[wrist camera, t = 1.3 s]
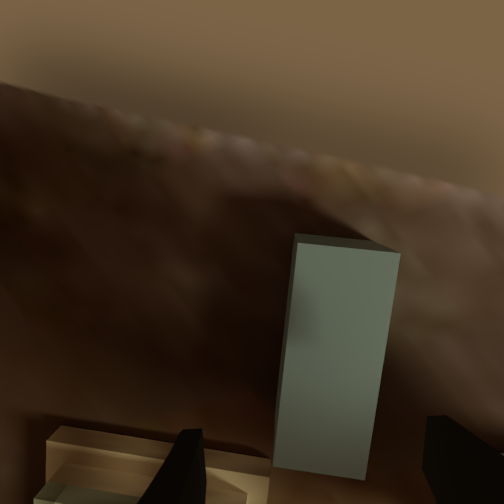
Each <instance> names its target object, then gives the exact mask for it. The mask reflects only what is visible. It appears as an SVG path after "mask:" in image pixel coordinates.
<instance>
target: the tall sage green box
mask: <svg viewBox="0 0 504 504" xmlns="http://www.w3.org/2000/svg"><path fill="white" fill-rule="evenodd" d="M400 254H401V253H399V252H397V251H395V250H392V249H390V248H388V247H386V246H383V245H381V244H379V243H376V242H374V241H370V240H360V239H350V238H340V237H329V236H319V235H309V234H299V233H294V242H293V251H292V260H291V270H290V279H289V288H288V297H287V306H286V315H285V324H284V333H283V342H282V351H281V361H280V370H279V379H278V388H277V397H276V406H275V426H274V450H273V467H279V468H285V469H292V470H299V471H305V472H312V473H319V474H325V475H332V476H339V477H345V478H352V479H359V480H365V477H366V470H367V464H368V457H369V451H370V445H371V438H372V432H373V426H374V419H375V413H376V407H377V400H378V394H379V388H380V381H381V375H382V369H383V362H384V356H385V350H386V343H387V337H388V330H389V324H390V318H391V311H392V305H393V299H394V292H395V286H396V280H397V273H398V267H399V261H400Z"/></svg>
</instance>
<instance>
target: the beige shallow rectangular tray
mask: <svg viewBox="0 0 504 504" xmlns="http://www.w3.org/2000/svg"><path fill="white" fill-rule="evenodd" d="M173 445H174V443H168V442H162V441H156V440H150V439H143V438H137V437H131V436H125V435H119V434H113V433H106V432H100V431H94V430H88V429H82V428H75V427H69V426H63V425H61V426H60V427H59V428H58V429H57V430H56V431H55V432H54V433H53V434H52V435H51V436H50V437H49V438H48V439H47V440H46V484H45V486H44V487H43V488H42V489H41V490H40V492H39V493H38V494H37V495H36V496H35V498H34V504H137V502H138V501H139V500H140V498H141V497H142V495H143V494H144V492H145V491H146V489H147V488H148V486H149V485H150V483H151V482H152V480H153V478H154V477H155V475H156V474H157V472H158V471H159V469H160V467H161V466H162V464H163V462H164V461H165V459H166V457H167V456H168V454H169V452H170V450H171V448H172V447H173ZM204 455H205V466H206V478H207V486H206V500H205V504H267V496H268V488H269V480H270V465H271V459H267V458H261V457H255V456H249V455H242V454H236V453H230V452H224V451H218V450H212V449H205V448H204Z"/></svg>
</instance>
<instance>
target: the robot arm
mask: <svg viewBox="0 0 504 504" xmlns="http://www.w3.org/2000/svg"><path fill="white" fill-rule="evenodd" d="M422 470H423V472H424V474H425V477H426V479H427V481H428V484H429V486H430V488H431V490H432V492H433V495H434V497H435V499H436V501H437V503H438V504H504V453H499V452H498V451H496V450H495V449H493V448H492V447H491V446H489V445H488V444H486V443H485V442H484V441H482V440H481V439H479V438H478V437H477V436H475V435H474V434H472V433H471V432H470V431H468V430H467V429H465V428H464V427H463V426H461V425H460V424H458V423H457V422H455V421H454V420H452V419H451V418H449V417H448V416H446V415H442V416H427V423H426V433H425V444H424V454H423V465H422ZM206 486H207V478H206V466H205V455H204V443H203V432H202V429H183V430H182V431H181V432H180V433H179V435H178V437H177V439H176V441H175V443H174V445H173V447H172V448H171V450H170V452H169V454H168V456H167V457H166V459H165V461H164V462H163V464H162V466H161V467H160V469H159V471H158V472H157V474H156V475H155V477H154V478H153V480H152V482H151V483H150V485H149V486H148V488H147V489H146V491H145V492H144V494H143V495H142V497H141V498H140V500H139V501H138V502H137V504H205V500H206Z"/></svg>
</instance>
